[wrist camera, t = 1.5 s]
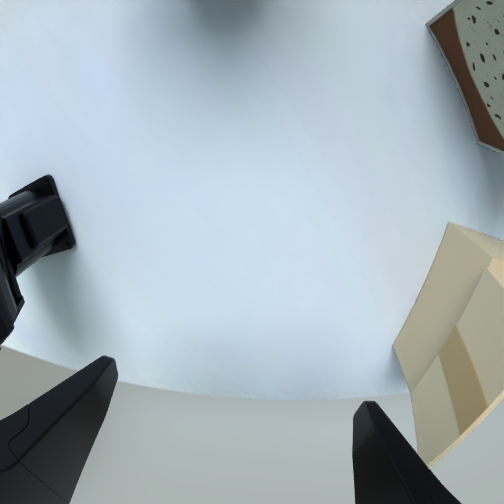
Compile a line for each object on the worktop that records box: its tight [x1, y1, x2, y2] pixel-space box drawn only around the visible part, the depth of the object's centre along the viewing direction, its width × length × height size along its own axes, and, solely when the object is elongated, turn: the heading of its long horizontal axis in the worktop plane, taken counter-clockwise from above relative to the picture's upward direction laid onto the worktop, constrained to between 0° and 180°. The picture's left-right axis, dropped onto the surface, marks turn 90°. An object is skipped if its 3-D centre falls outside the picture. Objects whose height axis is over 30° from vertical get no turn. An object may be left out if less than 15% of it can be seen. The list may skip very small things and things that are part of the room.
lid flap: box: [410, 268, 504, 468], centre depth 13 cm, size 7×11×1 cm
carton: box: [393, 222, 504, 393], centre depth 18 cm, size 14×12×7 cm
